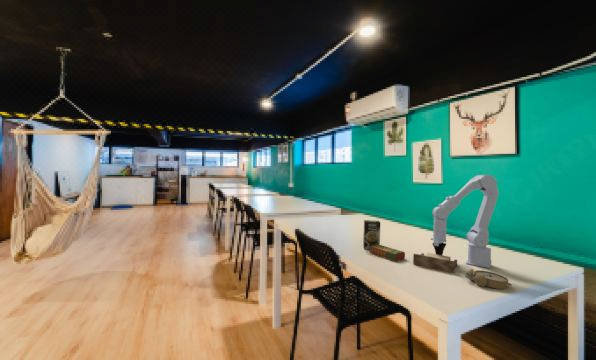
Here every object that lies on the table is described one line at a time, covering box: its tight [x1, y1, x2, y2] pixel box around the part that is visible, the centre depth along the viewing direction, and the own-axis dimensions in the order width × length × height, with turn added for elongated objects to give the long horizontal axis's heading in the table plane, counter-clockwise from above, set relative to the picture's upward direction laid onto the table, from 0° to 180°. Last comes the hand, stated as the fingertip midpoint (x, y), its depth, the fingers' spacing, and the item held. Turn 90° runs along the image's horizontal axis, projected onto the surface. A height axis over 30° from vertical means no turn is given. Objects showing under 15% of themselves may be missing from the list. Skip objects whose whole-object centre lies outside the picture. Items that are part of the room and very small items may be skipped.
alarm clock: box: [464, 268, 513, 290], centre depth 107 cm, size 11×5×15 cm
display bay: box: [412, 252, 458, 274], centre depth 129 cm, size 17×14×5 cm
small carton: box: [424, 252, 452, 261], centre depth 130 cm, size 10×8×4 cm
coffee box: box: [362, 219, 381, 250], centre depth 157 cm, size 9×6×16 cm
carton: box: [370, 244, 406, 262], centre depth 142 cm, size 8×16×4 cm, turn 33°
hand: (439, 257), depth 134 cm, fingers closed
